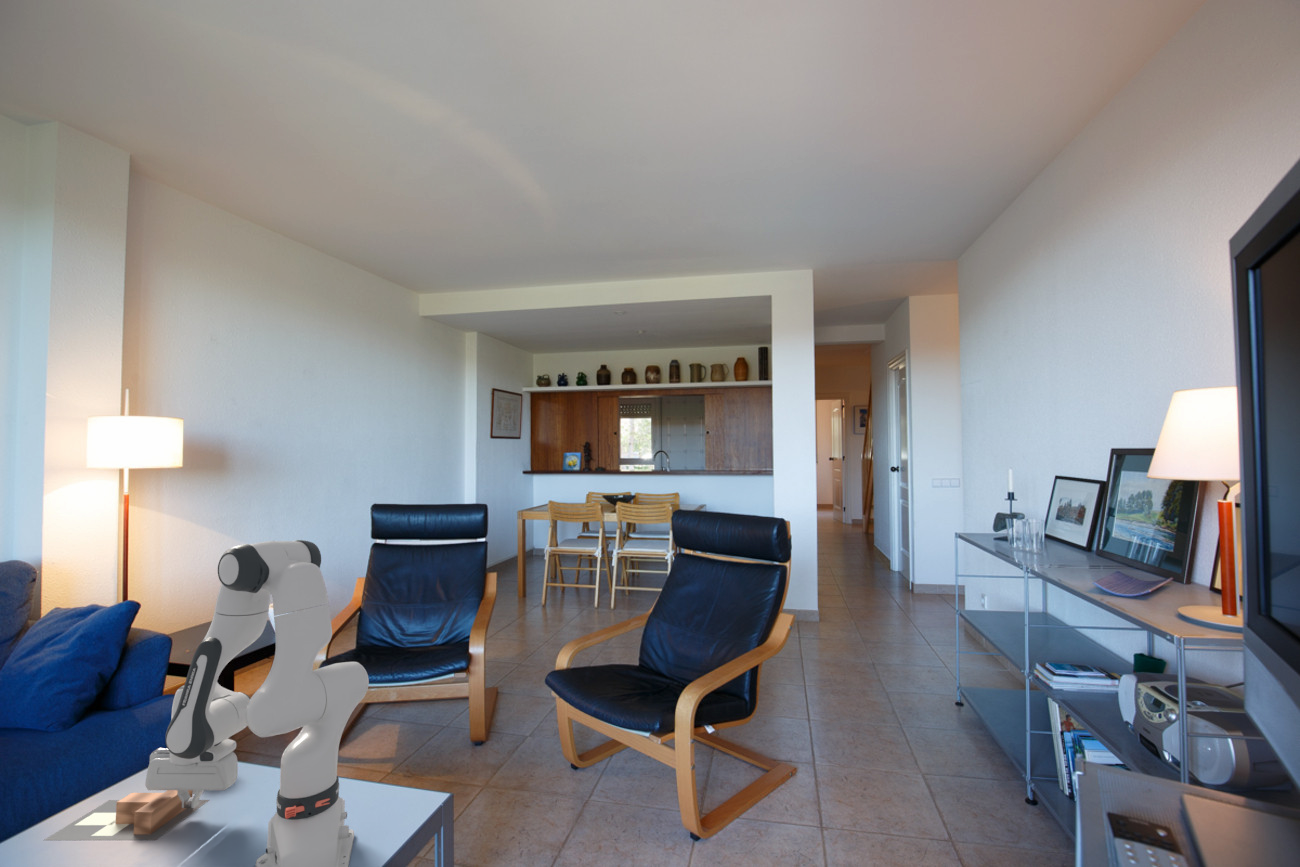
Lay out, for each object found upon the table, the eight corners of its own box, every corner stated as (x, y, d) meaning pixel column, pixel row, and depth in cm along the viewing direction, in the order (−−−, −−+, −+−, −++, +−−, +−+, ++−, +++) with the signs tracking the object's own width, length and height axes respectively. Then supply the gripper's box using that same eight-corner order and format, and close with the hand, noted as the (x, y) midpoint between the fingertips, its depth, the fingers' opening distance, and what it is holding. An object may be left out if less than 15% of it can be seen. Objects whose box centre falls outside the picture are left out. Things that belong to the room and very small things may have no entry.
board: (209, 801, 147) (209, 799, 147) (155, 841, 131) (155, 839, 131) (109, 801, 147) (109, 799, 147) (43, 842, 131) (43, 840, 131)
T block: (192, 804, 145) (192, 783, 145) (150, 834, 133) (151, 812, 133) (145, 804, 145) (146, 783, 145) (99, 834, 133) (100, 812, 133)
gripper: (139, 754, 137) (136, 814, 136) (224, 754, 137) (221, 814, 136) (161, 742, 143) (159, 799, 143) (243, 742, 143) (240, 799, 142)
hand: (190, 806), depth 139 cm, fingers closed
